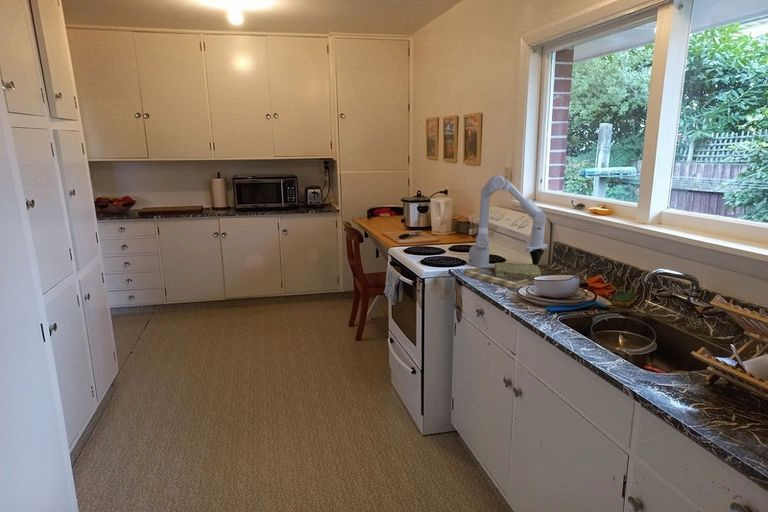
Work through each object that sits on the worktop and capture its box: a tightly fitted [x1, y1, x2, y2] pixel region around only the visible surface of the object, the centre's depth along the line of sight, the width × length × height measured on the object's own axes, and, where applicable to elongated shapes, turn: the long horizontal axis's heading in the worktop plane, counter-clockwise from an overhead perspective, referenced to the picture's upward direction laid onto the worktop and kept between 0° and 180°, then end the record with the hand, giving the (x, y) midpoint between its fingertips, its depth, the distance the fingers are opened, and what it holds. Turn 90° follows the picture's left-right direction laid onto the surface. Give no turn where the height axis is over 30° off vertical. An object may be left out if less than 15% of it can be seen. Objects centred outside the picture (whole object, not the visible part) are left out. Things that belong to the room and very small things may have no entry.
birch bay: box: [463, 266, 530, 290], centre depth 207 cm, size 27×10×2 cm, turn 40°
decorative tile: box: [493, 262, 542, 281], centre depth 217 cm, size 19×20×4 cm
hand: (535, 264), depth 226 cm, fingers closed
